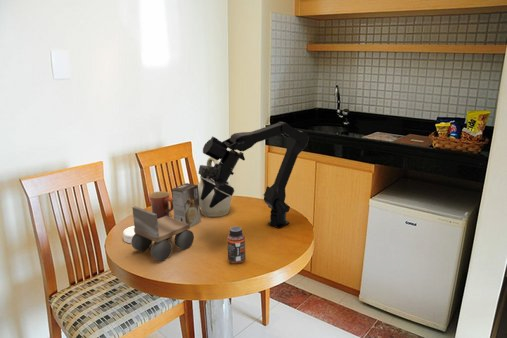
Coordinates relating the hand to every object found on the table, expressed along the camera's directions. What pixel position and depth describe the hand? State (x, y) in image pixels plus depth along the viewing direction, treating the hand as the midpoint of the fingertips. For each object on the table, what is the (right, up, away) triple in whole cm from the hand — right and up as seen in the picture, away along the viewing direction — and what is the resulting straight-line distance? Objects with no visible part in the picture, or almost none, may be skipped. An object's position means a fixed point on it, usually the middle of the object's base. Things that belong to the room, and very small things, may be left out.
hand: (205, 203), depth 141 cm
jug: (0, -7, +31) cm, 32 cm away
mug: (-21, -9, +26) cm, 34 cm away
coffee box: (-10, -10, +19) cm, 24 cm away
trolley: (-15, -16, -2) cm, 22 cm away
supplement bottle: (+12, -18, -10) cm, 24 cm away
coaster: (-27, -14, +8) cm, 31 cm away
